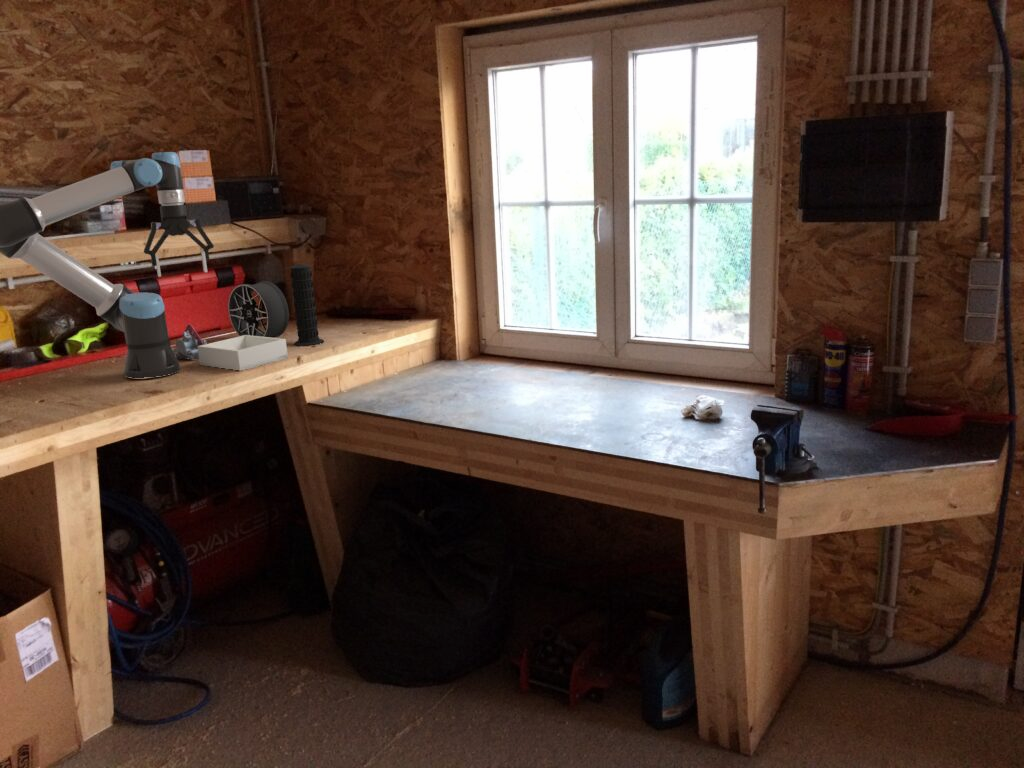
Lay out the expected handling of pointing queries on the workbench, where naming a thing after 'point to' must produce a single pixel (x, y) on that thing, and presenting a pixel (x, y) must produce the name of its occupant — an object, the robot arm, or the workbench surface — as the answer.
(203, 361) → the bin
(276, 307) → the wheel rim
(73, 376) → the workbench surface
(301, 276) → the handle grip
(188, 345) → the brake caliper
